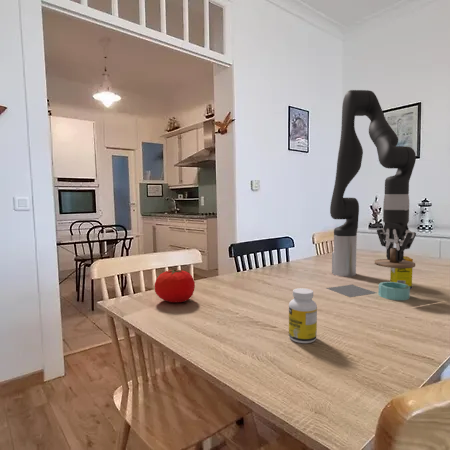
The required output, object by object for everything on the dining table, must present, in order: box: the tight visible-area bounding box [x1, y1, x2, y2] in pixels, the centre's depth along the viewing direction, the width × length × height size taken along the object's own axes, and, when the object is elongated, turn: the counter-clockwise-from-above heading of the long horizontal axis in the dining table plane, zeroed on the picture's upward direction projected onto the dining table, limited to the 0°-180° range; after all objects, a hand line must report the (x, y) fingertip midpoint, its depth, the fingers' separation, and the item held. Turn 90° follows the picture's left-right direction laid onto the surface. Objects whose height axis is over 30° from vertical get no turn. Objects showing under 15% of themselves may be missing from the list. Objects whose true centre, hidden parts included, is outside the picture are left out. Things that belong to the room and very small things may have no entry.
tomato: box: [154, 268, 196, 303], centre depth 108 cm, size 13×12×11 cm
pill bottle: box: [288, 287, 318, 344], centre depth 78 cm, size 6×6×12 cm
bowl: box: [377, 281, 411, 301], centre depth 110 cm, size 9×9×4 cm
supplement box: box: [389, 255, 414, 289], centre depth 123 cm, size 6×6×11 cm
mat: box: [325, 284, 377, 298], centre depth 117 cm, size 12×12×1 cm
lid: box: [374, 247, 416, 269], centre depth 109 cm, size 12×12×5 cm
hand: (394, 260), depth 109 cm, fingers closed on lid, 2 cm apart
